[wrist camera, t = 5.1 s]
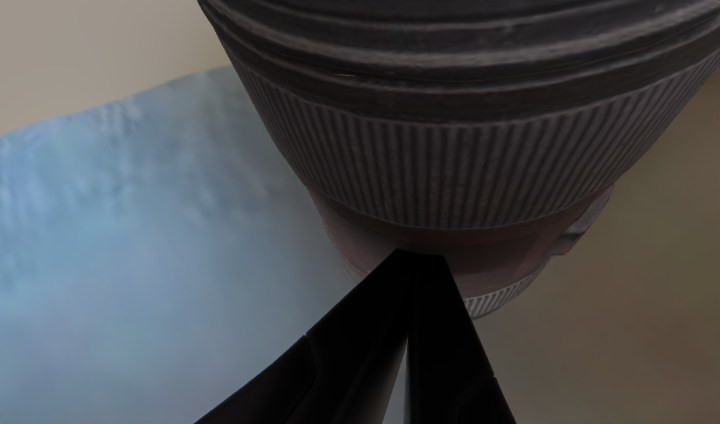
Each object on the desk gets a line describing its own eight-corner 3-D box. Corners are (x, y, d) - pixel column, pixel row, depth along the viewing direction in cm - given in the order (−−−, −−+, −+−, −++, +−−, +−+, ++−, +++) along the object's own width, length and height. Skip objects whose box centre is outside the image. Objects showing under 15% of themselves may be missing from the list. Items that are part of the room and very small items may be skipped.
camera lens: (465, 142, 20) (560, -418, 6) (572, 285, 16) (1343, -367, 3) (317, 210, 19) (82, -255, 6) (391, 375, 15) (201, 122, 2)
